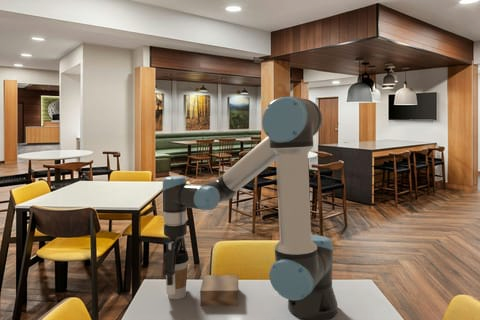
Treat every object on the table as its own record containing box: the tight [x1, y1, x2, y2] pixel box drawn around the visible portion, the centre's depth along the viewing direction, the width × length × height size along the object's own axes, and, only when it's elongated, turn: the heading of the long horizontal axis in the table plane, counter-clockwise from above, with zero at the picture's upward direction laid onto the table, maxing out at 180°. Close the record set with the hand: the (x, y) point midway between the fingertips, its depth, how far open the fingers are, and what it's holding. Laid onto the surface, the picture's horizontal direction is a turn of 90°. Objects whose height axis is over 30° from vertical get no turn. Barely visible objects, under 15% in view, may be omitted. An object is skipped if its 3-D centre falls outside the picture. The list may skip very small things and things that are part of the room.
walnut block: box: [199, 274, 239, 307], centre depth 125 cm, size 12×12×5 cm
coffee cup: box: [162, 249, 189, 300], centre depth 126 cm, size 8×8×15 cm
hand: (176, 284), depth 127 cm, fingers open, 13 cm apart
